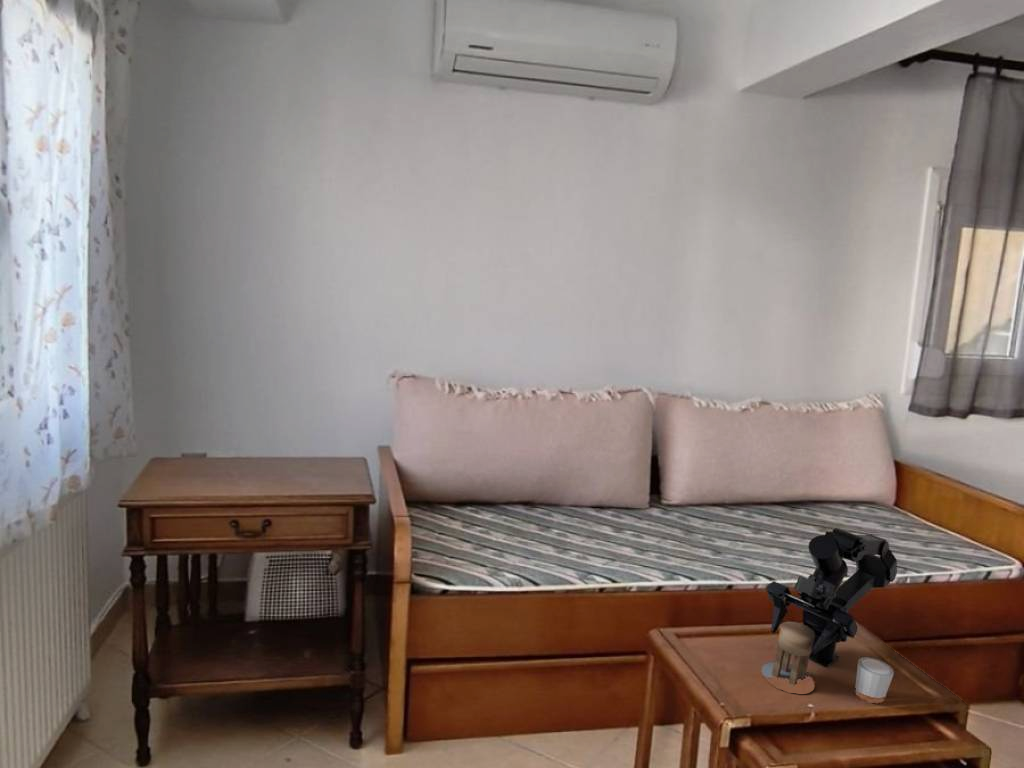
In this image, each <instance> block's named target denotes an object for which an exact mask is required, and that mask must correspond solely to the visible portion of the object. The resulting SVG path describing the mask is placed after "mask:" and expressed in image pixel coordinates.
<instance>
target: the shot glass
mask: <svg viewBox="0 0 1024 768" xmlns="http://www.w3.org/2000/svg"><path fill="white" fill-rule="evenodd" d="M857 661H858V662H857V670H856V681H855V688H856V690H857V691H858V692H860V693H862V694H864V695H867V696H870V697H873V698H874V697H875V698H882V697H885V698H886V696H887V694H888V690H889V688H890V685H891V682H892V680H893V677H894V674H895V673H894V669H893V668H892V667H891V665H888V664H887V663H886V662H885V661H882V660H880V659H876V658H873V657H867V656H866V657H861V658H859V659H858V660H857ZM855 688H854V689H855Z"/></svg>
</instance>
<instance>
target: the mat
mask: <svg viewBox="0 0 1024 768" xmlns="http://www.w3.org/2000/svg"><path fill="white" fill-rule="evenodd" d="M774 662H775V661H772V662H767V663H765V664H764V665H762V667H761V671H760V673H761V672H762V674H763V676H766V677H767V678H768V677H774V678H775V676H773V675H772V672H773V667H774ZM792 665H793V664H789V669H788V670H787V671H786V672H785V671H783V670H781V673H780V676H779V677H780V678H781V677H782V678H783V679H785V678H787V679H788V680H789V679H790V674H791V669H792ZM762 674H761V675H762ZM805 676H806V677H808V676H809V677H810V676H811V674H809V672H807V671H806V675H805ZM779 677H776V678H779ZM806 677H805V678H806ZM782 678H781V679H782ZM798 679H799V678H798Z"/></svg>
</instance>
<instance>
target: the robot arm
mask: <svg viewBox="0 0 1024 768" xmlns="http://www.w3.org/2000/svg"><path fill="white" fill-rule="evenodd" d="M807 548H808V552H809V553H810V556H811V559H812V561H813V563H814V566H815V567H816V568H814V569H815V570H814V572H813V573H812V574H811V573H809V576H808V577H807V578H806V577H804V576H801V575H799V576H798V578H797V581H796V584H795V586H794V588H793V589H794V590H795V591H797V592H796V593H797V594H798V596H800V597H798V596H796V595H793V594H792V593H791V590H790V588H789V587H788V586H786V585H784V584H781V583H779V582H776V581H775V580H774V581H771V582H770V583H768V584H767V587H766V589H765V592H766V594H767V595H768V598H769V599H770V602H771V603H772V604H773V617H772V624H771V630H770V632H771V634H772V635H775V633H776V632H777V631H778V630H779V627H781V624H782V623H783V620H784V618H785V617H786V615H787V614H788V609H787V607H789V606H790V605H793V606H795V607H797V608H799V609H802V624H803V625H806V626H808V627H809V628H811V629H812V630H813V631H814V633H815V637H814V642H813V647H812V651H811V654H810V656H809V660H811V661H813V662H816V663H818V664H819V665H821V666H823V667H825V668H827V667H828V666H830V665H832V664H833V663H835V662H837V661H839V660H840V655H838V654H835V652H836V648H837V647H836V646H837V644H839V643H840V642H841V643H843V642H844V643H846V642H847V639H848V638H851V639H854V638H855V636H856V634H857V632H858V627H859V626H858V625H857V622H856V618H855V616H854V615H853V614H851V613H849V611H850V610H851V609H852V608H853V607H854V606H855V605H856V604H857V603H858V602H859V601H861V599H862V598H863V597H864V596H866V595H867V594H868V593H869V592H870V591H871V590H872V589H883V588H885V587H887V586H888V585H890V583H893V582H894V581H895V579H896V577H897V574H898V560H897V558H896V556H895V555H894V554H893V552H892V551H891V549H890V543H889V541H887V540H886V539H885V538H882V537H879V536H876V535H873V534H872V533H869V534H867V533H865V534H855V533H851V532H849V531H846V530H844V529H841V528H838V527H834V528H833V529H832V530H831V531H828V530H827V531H825V534H821V535H817V536H815V537H813V538H812V539H810V541H809V542H808V546H807ZM844 559H845V560H848V561H851V562H853V563H855V564H856V571H855V572H854V573H852V575H851V576H849V577H848V579H846V580H845V581H844V578H845V577H847V576H848V574H849V573H848V572H849V568H848V565H847V562H846V561H845V560H844ZM842 582H843V583H842Z"/></svg>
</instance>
